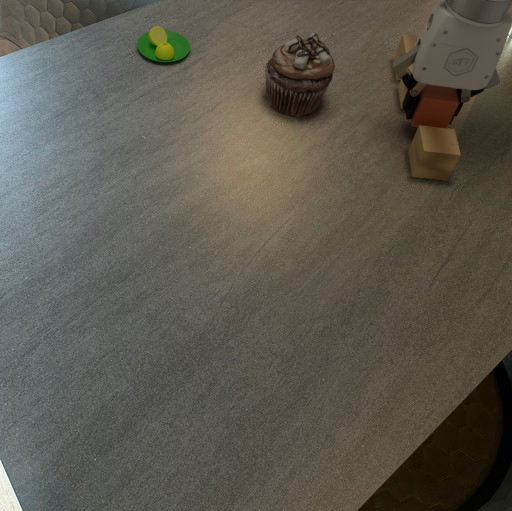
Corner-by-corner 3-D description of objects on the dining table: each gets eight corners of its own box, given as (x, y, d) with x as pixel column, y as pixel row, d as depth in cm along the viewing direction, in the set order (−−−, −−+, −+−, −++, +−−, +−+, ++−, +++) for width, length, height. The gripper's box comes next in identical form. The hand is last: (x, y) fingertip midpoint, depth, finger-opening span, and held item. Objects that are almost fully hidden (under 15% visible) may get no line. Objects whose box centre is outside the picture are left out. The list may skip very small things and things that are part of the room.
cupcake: (301, 71, 97) (313, 13, 89) (337, 110, 92) (354, 52, 84) (248, 87, 93) (256, 27, 85) (283, 128, 89) (295, 69, 81)
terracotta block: (440, 107, 91) (453, 79, 87) (445, 130, 88) (459, 102, 84) (407, 103, 91) (419, 74, 87) (411, 126, 88) (423, 98, 84)
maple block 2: (428, 92, 98) (440, 65, 94) (433, 113, 95) (445, 86, 91) (397, 88, 97) (407, 61, 93) (400, 109, 94) (411, 82, 90)
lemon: (125, 47, 95) (125, 30, 93) (163, 27, 99) (163, 11, 97) (163, 72, 93) (163, 56, 90) (200, 50, 97) (201, 34, 95)
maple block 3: (441, 155, 89) (454, 129, 85) (446, 181, 86) (460, 155, 82) (407, 151, 89) (419, 124, 85) (411, 177, 86) (423, 150, 82)
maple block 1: (423, 64, 102) (433, 37, 98) (427, 84, 99) (438, 57, 95) (393, 60, 102) (402, 33, 98) (396, 80, 99) (406, 53, 95)
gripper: (414, 6, 72) (370, 126, 86) (555, 26, 73) (489, 141, 88) (407, -29, 76) (366, 91, 91) (540, -9, 78) (479, 105, 92)
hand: (427, 114), depth 89 cm, fingers closed on terracotta block, 5 cm apart
